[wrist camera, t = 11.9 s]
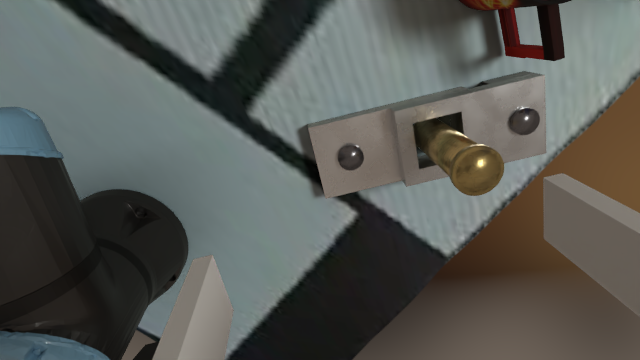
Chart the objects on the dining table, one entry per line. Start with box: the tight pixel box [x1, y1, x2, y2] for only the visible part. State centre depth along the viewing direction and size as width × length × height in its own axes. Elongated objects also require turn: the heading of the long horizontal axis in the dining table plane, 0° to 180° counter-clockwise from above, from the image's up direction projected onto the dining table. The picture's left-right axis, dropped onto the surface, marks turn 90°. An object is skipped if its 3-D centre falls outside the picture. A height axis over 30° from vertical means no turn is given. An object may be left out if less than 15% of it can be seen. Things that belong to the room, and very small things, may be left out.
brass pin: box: [413, 118, 504, 196], centre depth 41 cm, size 5×5×14 cm
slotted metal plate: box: [307, 71, 546, 198], centre depth 45 cm, size 26×9×5 cm, turn 103°
